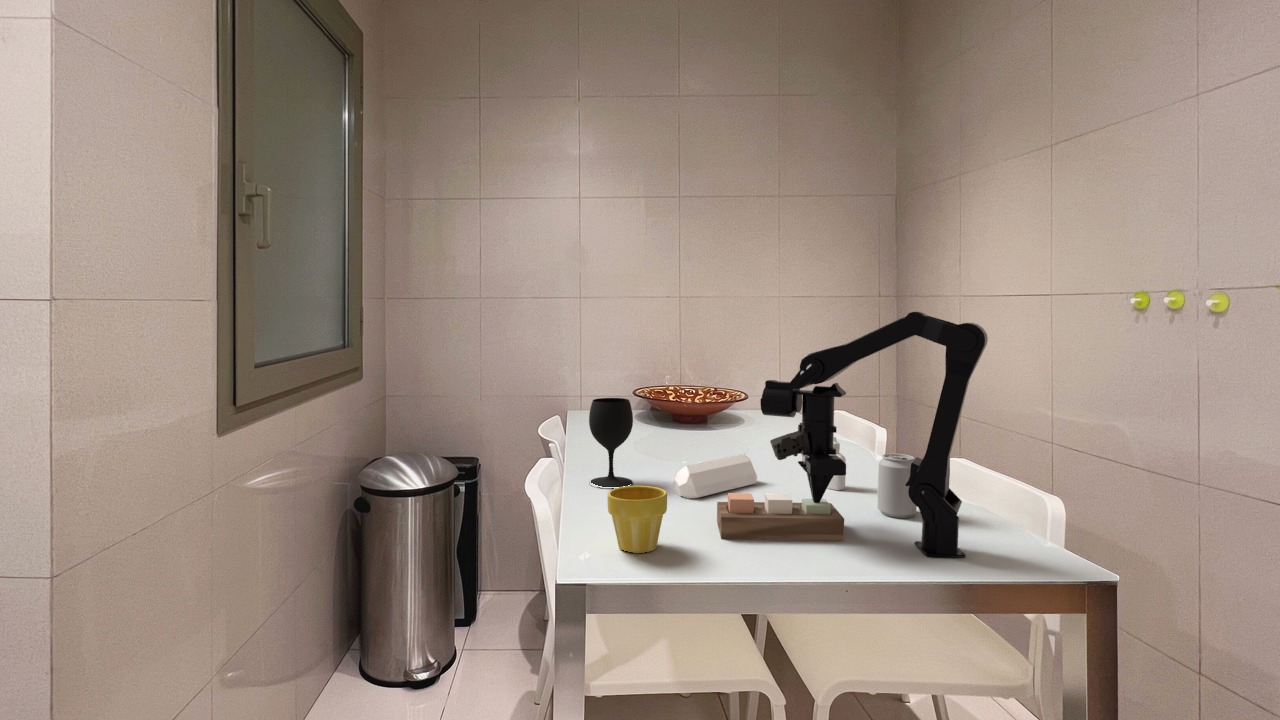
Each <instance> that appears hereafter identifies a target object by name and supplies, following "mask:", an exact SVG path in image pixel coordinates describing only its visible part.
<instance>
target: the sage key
mask: <svg viewBox="0 0 1280 720" xmlns="http://www.w3.org/2000/svg"><path fill="white" fill-rule="evenodd" d="M801 503H802V510H803V512H804V513H805V514H831V505H830V504H829V503H830V502H828V501H827V499H826V498H822V499H821V501H820V502H819V503H814V502H813V499H812V498H801Z"/></svg>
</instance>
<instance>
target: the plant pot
mask: <svg viewBox="0 0 1280 720" xmlns="http://www.w3.org/2000/svg"><path fill="white" fill-rule="evenodd" d="M667 511H668V493H667V491H666V490H665V489H663V488H661V487H656V486H649V485H631V486H625V487H619V488H615V489H609V491H608V492H607V512H608V514H609V515H610V516H611V519H612V522H613V526H614V531H615V536H616V541H617V545H618V548H619V550H621V549H622V550H624V551H623V552H625V551H628V552H627V553H629V552H633V553H632V554H645V552H647V553H650V551H651V552H653V551H654V550H656V549H657V547H658V542H659V536H660V531H661V527H662V521H663V518H664V516H663V515H665V514H666V513H667ZM622 550H621V551H622Z"/></svg>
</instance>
